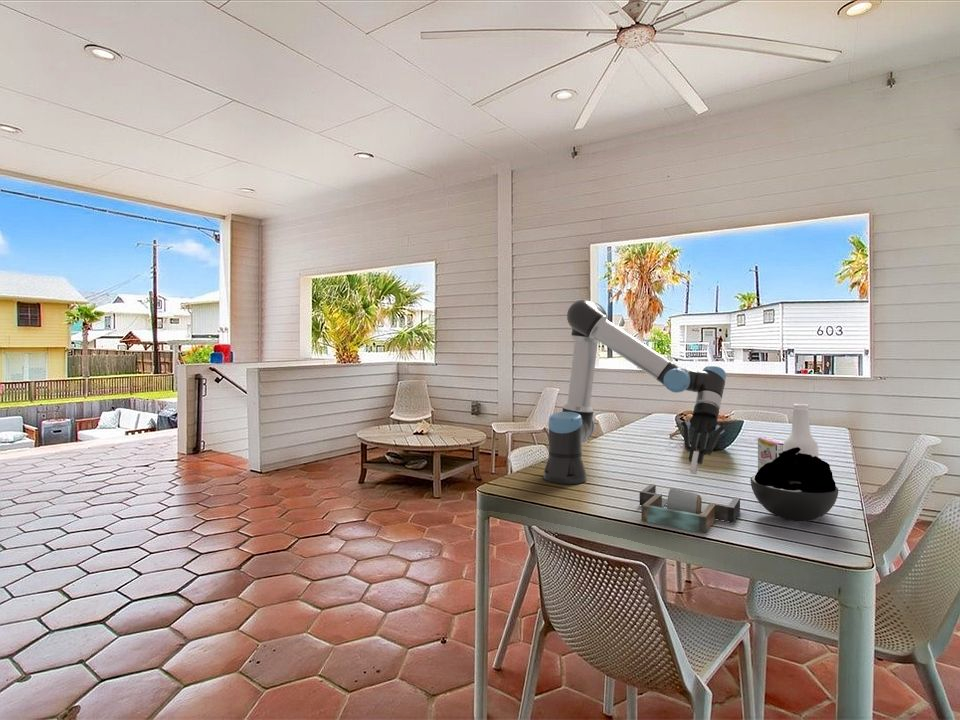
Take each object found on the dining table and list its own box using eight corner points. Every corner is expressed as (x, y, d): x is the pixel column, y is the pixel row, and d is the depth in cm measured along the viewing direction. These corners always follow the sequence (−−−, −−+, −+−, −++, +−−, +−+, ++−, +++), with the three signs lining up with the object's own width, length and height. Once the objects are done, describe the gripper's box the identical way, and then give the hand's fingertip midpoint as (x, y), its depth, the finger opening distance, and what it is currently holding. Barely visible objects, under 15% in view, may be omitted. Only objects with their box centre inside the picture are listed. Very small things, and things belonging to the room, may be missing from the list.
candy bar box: (756, 485, 167) (756, 437, 167) (771, 485, 167) (771, 437, 167) (775, 494, 156) (776, 443, 155) (791, 494, 156) (792, 443, 155)
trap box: (625, 517, 134) (625, 502, 134) (650, 496, 153) (650, 484, 153) (725, 537, 119) (725, 521, 119) (740, 511, 138) (740, 497, 138)
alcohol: (775, 500, 149) (776, 402, 149) (802, 499, 150) (803, 402, 150) (797, 509, 140) (798, 405, 140) (825, 508, 141) (826, 405, 141)
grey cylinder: (699, 525, 128) (699, 495, 128) (666, 519, 132) (666, 491, 132) (702, 514, 137) (703, 486, 137) (672, 509, 141) (672, 483, 141)
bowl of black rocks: (808, 538, 119) (808, 461, 118) (734, 514, 137) (734, 447, 136) (854, 525, 127) (855, 454, 127) (779, 504, 145) (780, 441, 145)
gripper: (730, 416, 159) (717, 481, 148) (687, 411, 167) (673, 473, 156) (727, 403, 154) (714, 470, 143) (684, 399, 162) (668, 462, 151)
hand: (693, 471), depth 149 cm, fingers closed
